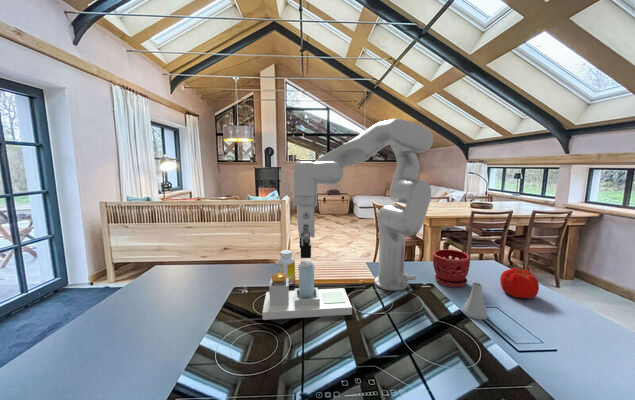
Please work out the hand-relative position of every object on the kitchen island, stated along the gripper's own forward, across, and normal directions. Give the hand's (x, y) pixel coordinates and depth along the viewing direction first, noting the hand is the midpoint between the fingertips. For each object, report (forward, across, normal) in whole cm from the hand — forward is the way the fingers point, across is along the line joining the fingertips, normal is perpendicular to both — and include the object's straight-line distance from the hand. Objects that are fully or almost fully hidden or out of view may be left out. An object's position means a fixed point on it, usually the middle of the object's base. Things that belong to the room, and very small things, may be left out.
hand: (304, 252), depth 87 cm
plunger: (+16, 0, +8) cm, 18 cm away
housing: (+19, 0, -1) cm, 19 cm away
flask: (+18, -10, -54) cm, 58 cm away
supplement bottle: (+19, +19, +6) cm, 28 cm away
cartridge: (+16, 0, -1) cm, 16 cm away
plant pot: (+18, +12, -59) cm, 63 cm away
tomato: (+18, 0, -78) cm, 80 cm away
